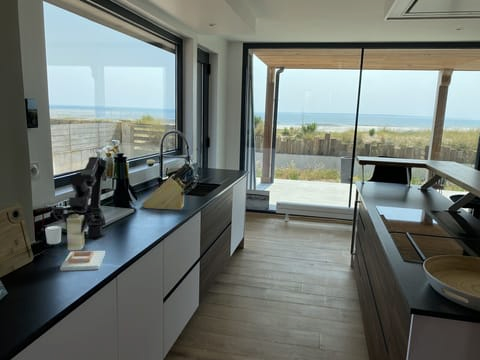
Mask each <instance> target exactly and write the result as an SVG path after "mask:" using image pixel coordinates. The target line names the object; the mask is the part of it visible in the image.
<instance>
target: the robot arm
mask: <svg viewBox="0 0 480 360" xmlns="http://www.w3.org/2000/svg"><path fill="white" fill-rule="evenodd" d="M108 169H109V163H108V161H106V160H105V159H102V158H101V157H99V156H90V157H88V162H87V164H86V166H85V168H84V170H81V171H79V172H76V174H74V175H72V177H70V179H69V183H70V185H71V187H72V190H73V192H75V194H74V196H73V197H69V198H68V206H69V209H70V210H69V209H66V208H65V207H54V208H53V210H52V215H53V217H54V218H55V220H60V221H61V220H63V221H64V223H65V226H66V227H65V228H66V230H67V218H68V217H69V216H70V215H72V214H78V215H83V217H84V221H83V225H82V228H81V233H83V231H84V232H85V230H87V235H86V236H85V238H87V239H90V240H91V239H93V240H99V239H100V238H103V237H105V236H106V234H103V227H104V226H106V217H105V214H104V212H103V209H102V208H101V197H102V189H103V188H102V187H103V178H104V177H105V176H106V175H107V171H108ZM90 188H91V189H90ZM89 201H90V202H89ZM89 203H90V204H89Z"/></svg>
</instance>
